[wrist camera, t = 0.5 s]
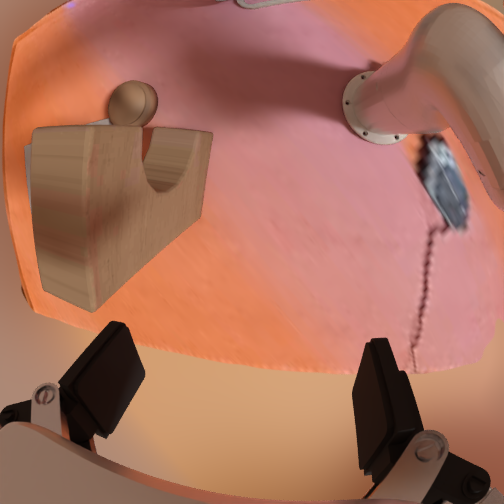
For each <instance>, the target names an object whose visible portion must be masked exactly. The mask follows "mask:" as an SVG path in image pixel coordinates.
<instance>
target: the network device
mask: <svg viewBox="0 0 504 504" xmlns="http://www.w3.org/2000/svg"><path fill="white" fill-rule="evenodd" d="M215 1H225V0H215ZM300 1H308V0H271V1H266V2H261V3H256V4H247V3H245V1H244V0H237V2H238V4H239V5H240V6H241V7H243V8H246V9H259V8H264V7H269V6H274V5H280V4H286V3H292V2H300Z"/></svg>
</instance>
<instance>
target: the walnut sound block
mask: <svg viewBox="0 0 504 504" xmlns="http://www.w3.org/2000/svg"><path fill="white" fill-rule="evenodd" d="M157 106H158V97H157V94H156V91H155V90H154V88H153V87H152V86H150V85H148V84H146V83H143V82H140V81H135V80H131V81H127V82H125V83H123V84H121V85H120V86H119V87H118V88H117V89H116V90H115V91H114V92H113V94H112V96H111V98H110V101H109V105H108V114H109V118H110V120H111V122H112V123H113V124H114V125H136V126H140V127H143V126H145V125H146V124H148V123H149V122H150V121H151V119H152V118H153V117H154V115H155V113H156V110H157Z"/></svg>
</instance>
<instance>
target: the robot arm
mask: <svg viewBox="0 0 504 504" xmlns="http://www.w3.org/2000/svg"><path fill="white" fill-rule="evenodd" d="M503 5H504V1H503ZM361 77H363V79H361ZM346 102H348V105H346ZM342 107H343V112H344V116H345V118H346V120H347V122H348V124H349V125H350V127H351V128H352V129H353V130H354V131H355V132H356V133H357V134H358V135H359V136H360V137H362V138H363V139H365V140H367V141H369V142H371V143H374V144H379V145H390V144H395V143H398V142H400V141H401V140H403V139H404V138H405V137H406V136H407V135H408V134H423V133H437V132H441V131H444V130H446V129H447V128H449V127H451V128H452V130H453V132H454V133H455V135H456V136H457V138H458V139H459V140H460V141H461V143H462V145H463V147H464V148H465V150H466V152H467V154H468V156H469V157H470V159H471V161H472V163H473V165H474V167H475V169H476V171H477V173H478V175H479V177H480V179H481V181H482V183H483V185H484V187H485V189H486V191H487V193H488V195H489V197H490V198H491V200H492V201H493V203H494V204H495V205H496V206H497V207H498V208H499V209H500V210H502V211H503V212H504V35H503V34H502V32H501V31H500V30H499V29H498V28H497V27H496V26H495V25H494V24H493V23H492V22H491V21H490V20H489V19H488V18H487V17H486V16H484V15H483V14H482V13H480V12H479V11H477V10H475V9H474V8H472V7H469V6H467V5H464V4H459V3H448V4H444V5H441V6H438V7H436V8H434V9H433V10H432V11H430V12H429V13H428V14H426V15H425V16H424V17H423V18H422V19H421V20H420V21H419V23H418V24H417V25H416V27H415V28H414V30H413V31H412V33H411V35H410V37H409V39H408V40H407V42H406V44H405V45H404V47H403V48H402V49H401V50H400V51H399V52H398V53H397V54H396V55H395V56H393V57H392V58H391V59H390V60H389V61H387V62H386V63H385V64H384V65H383V66H382V67H380V68H379V69H378V70H377V71H367V72H363V73H360V74H358V75H356V76H355V77H354V78H353V79H351V80H350V82H349V83H348V84H347V86H346V87H345V90H344V93H343V97H342ZM363 132H365V135H363ZM395 136H396V139H395ZM144 378H145V370H144V367H143V365H142V363H141V360H140V357H139V355H138V352H137V350H136V347H135V344H134V342H133V339H132V336H131V333H130V330H129V328H128V327H126V324H125V323H122V322H117V321H111V322H109V324H108V325H107V326H106V327H105V328H104V329H103V330H102V331H101V332H100V334H99V335H98V336H97V337H96V338H95V339H94V340H93V341H92V343H91V344H90V345H89V346H88V347H87V348H86V349H85V351H84V352H83V353H82V354H81V355H80V356H79V358H78V359H77V360H76V361H75V362H74V364H73V365H72V366H71V367H70V368H69V369H68V371H67V372H66V373H65V374H64V375H63V377H62V378H61V379H60V380H59V382H58V383H59V384H60V388H58V387H57V385H55V384H53V383H44V384H42V385H40V386H38V387H37V388H36V389H35V391H34V393H33V395H32V399H31V400H27V401H24V402H20V403H16V404H12V405H9V406H6V407H5V408H4V409H3V410H2V412H1V413H0V504H504V496H503V495H502V494H501V493H500V492H499V491H498V490H497V489H496V488H493V489H492V488H491V487H490V482H491V480H490V476H489V474H488V472H487V471H485V470H484V469H483V468H481V467H479V466H476V465H474V464H472V463H470V462H468V461H466V460H464V459H462V458H460V457H458V456H456V455H454V454H452V453H450V452H449V444H448V441H447V439H446V438H445V436H444V435H443V434H441V433H440V432H438V431H435V430H425V431H424V428H423V424H422V421H421V417H420V414H419V411H418V407H417V404H416V400H415V397H414V394H413V391H412V388H411V385H410V382H409V379H408V376H407V374H406V372H405V371H399V370H398V367H397V364H396V361H395V358H394V355H393V352H392V349H391V347H390V344H389V341H388V339H387V338H372V339H371V341H370V342H367V343H366V344H365V348H364V352H363V356H362V359H361V363H360V366H359V370H358V373H357V377H356V380H355V383H354V386H353V391H352V399H353V408H354V416H355V425H356V435H357V445H358V456H359V457H358V458H359V468H360V470H362V469H364V475H372V481H373V482H374V484H373V486H372V487H371V488H370V489H369V490H368V492H367V493H366V494H365V495H364V496H363V497H362V498H361V499H357V500H336V501H335V500H334V501H282V500H266V499H256V498H247V497H239V496H232V495H226V494H220V493H215V492H210V491H205V490H200V489H196V488H191V487H187V486H183V485H180V484H176V483H172V482H169V481H165V480H162V479H159V478H156V477H153V476H149V475H147V474H144V473H141V472H138V471H136V470H133V469H130V468H127V467H125V466H123V465H120V464H118V463H115V462H113V461H111V460H108V459H106V458H104V457H102V456H100V455H98V454H97V452H96V447H95V443H94V438H93V435H94V434H95V433H96V434H97V435H99V436H101V437H103V438H105V439H107V437H108V435H109V434H111V433H113V431H114V429H115V428H116V426H117V424H118V423H119V421H120V419H121V417H122V416H123V414H124V412H125V410H126V409H127V407H128V405H129V404H130V402H131V400H132V398H133V397H134V395H135V393H136V392H137V390H138V388H139V386H140V385H141V383H142V381H143V380H144Z"/></svg>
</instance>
